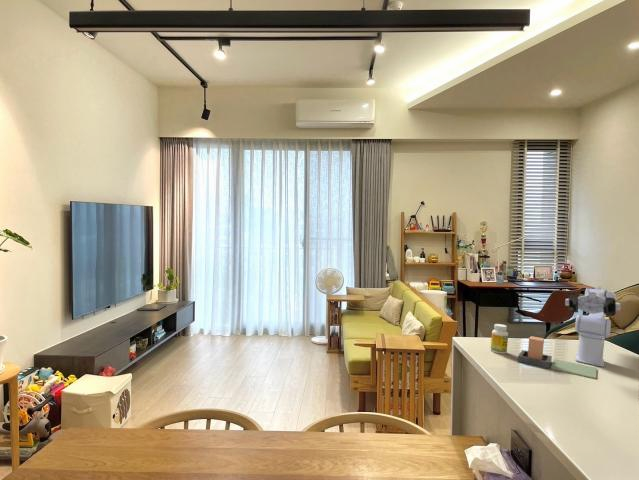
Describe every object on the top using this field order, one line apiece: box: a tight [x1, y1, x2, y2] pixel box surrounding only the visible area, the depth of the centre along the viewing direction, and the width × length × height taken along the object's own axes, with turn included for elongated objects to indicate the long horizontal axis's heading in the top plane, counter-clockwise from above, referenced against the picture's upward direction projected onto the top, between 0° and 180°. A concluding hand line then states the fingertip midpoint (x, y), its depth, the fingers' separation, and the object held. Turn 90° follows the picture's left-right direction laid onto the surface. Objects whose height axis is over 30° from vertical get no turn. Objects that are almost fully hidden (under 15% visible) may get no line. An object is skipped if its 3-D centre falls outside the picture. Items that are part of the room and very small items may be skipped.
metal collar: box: [517, 349, 553, 370], centre depth 134 cm, size 9×9×2 cm
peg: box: [527, 335, 545, 360], centre depth 134 cm, size 4×4×8 cm
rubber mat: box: [550, 358, 597, 380], centre depth 129 cm, size 12×12×1 cm
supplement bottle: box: [490, 323, 509, 355], centre depth 143 cm, size 5×5×10 cm
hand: (589, 308), depth 122 cm, fingers open, 7 cm apart
